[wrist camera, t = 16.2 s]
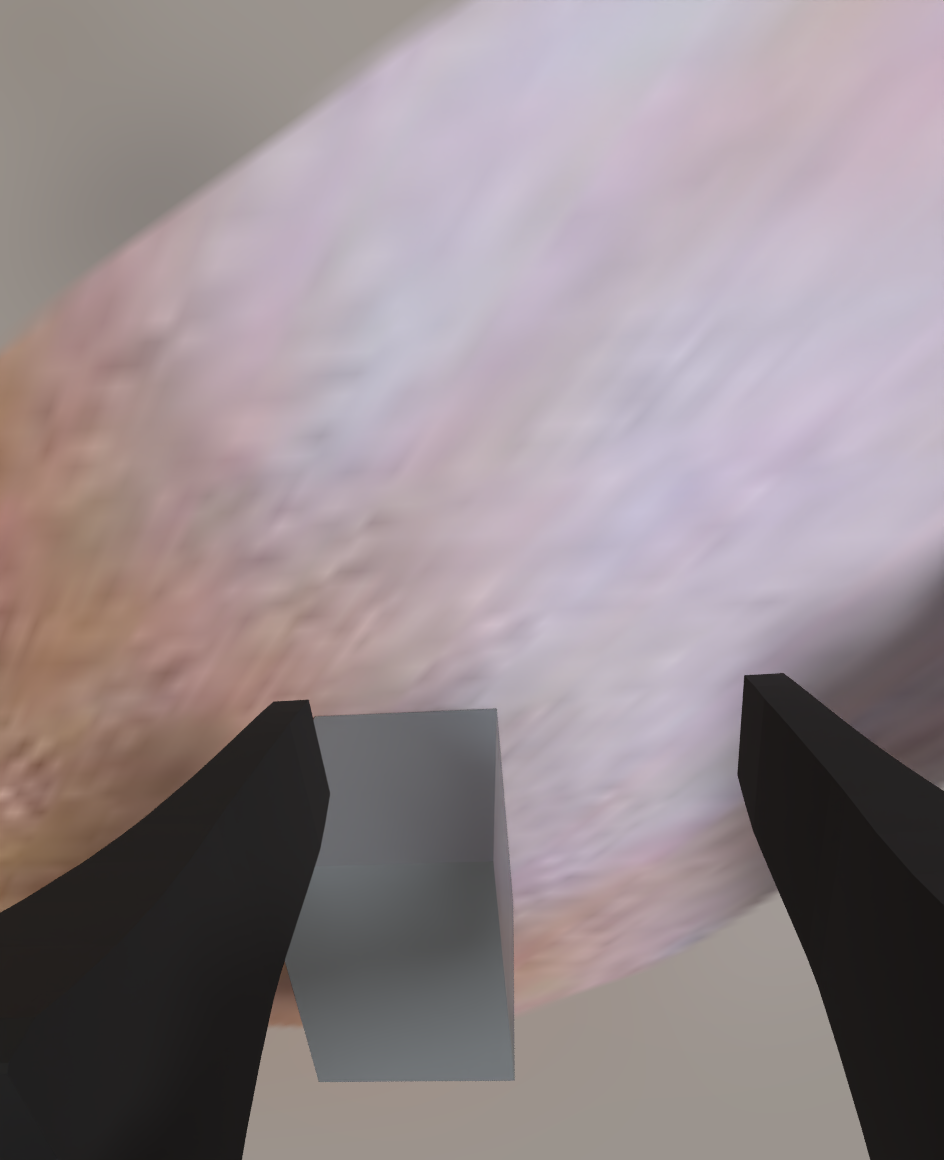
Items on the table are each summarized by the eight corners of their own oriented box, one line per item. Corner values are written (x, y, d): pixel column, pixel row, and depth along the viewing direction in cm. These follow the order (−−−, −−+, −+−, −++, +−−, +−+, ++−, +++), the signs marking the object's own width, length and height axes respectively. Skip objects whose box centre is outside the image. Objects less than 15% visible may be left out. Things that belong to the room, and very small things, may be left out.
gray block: (496, 708, 25) (493, 861, 19) (513, 905, 29) (514, 1080, 23) (314, 716, 25) (258, 868, 20) (355, 909, 29) (318, 1082, 24)
